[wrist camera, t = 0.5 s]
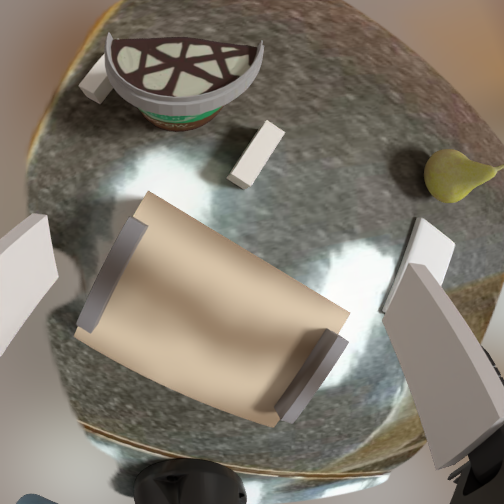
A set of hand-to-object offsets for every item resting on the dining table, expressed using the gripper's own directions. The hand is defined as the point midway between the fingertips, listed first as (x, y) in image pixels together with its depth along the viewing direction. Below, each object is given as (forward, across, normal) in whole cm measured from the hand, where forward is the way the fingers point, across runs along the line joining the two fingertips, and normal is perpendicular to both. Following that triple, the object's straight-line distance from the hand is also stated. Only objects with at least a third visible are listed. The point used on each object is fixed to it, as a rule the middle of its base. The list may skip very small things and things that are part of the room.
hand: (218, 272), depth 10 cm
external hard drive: (+22, -24, +11) cm, 34 cm away
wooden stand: (+14, +2, +13) cm, 20 cm away
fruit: (+27, -24, 0) cm, 36 cm away
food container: (+21, +7, -3) cm, 23 cm away
